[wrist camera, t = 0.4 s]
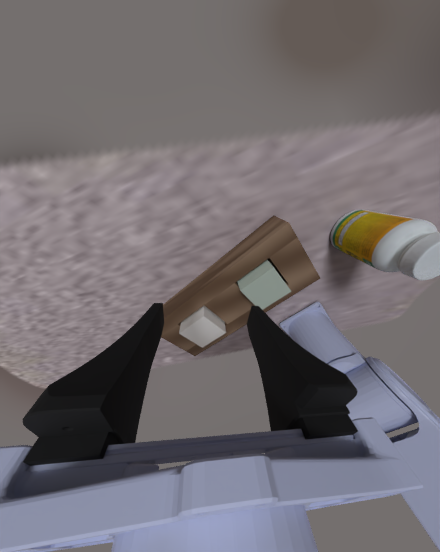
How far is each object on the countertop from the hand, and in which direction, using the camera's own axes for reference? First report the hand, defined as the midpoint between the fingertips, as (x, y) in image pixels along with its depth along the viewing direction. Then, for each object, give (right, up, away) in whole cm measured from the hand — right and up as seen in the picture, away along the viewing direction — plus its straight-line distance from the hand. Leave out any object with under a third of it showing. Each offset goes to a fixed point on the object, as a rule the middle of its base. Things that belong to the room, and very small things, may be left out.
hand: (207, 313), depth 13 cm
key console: (+2, +1, +11) cm, 12 cm away
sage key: (+6, +3, +8) cm, 10 cm away
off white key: (-2, -3, +10) cm, 11 cm away
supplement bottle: (+18, +9, +9) cm, 22 cm away
